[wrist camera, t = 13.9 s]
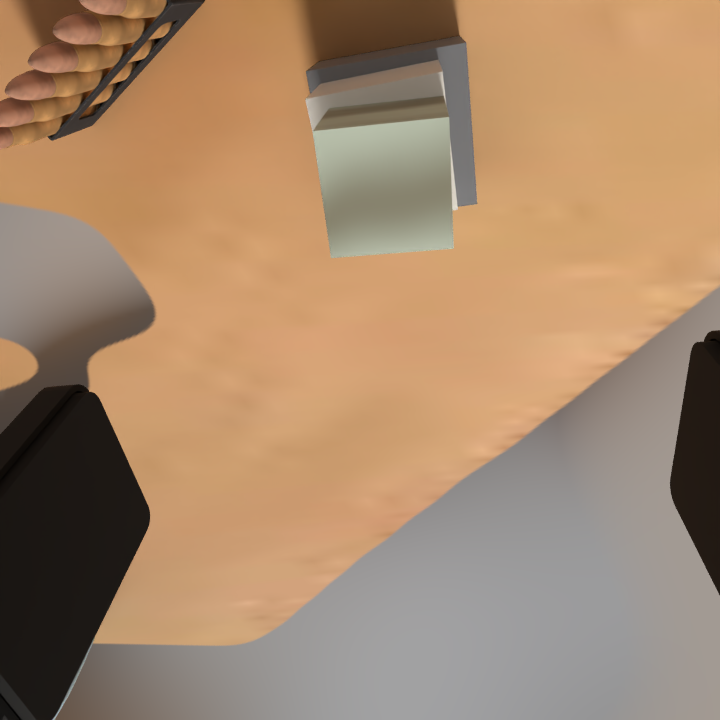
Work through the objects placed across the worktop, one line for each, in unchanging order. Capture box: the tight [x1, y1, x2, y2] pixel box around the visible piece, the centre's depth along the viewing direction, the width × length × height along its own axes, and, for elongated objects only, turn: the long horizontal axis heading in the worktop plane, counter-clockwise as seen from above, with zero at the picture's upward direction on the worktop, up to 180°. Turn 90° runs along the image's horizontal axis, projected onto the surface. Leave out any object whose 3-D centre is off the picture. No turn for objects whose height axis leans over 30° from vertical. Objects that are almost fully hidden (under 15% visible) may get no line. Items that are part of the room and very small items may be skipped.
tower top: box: [305, 60, 458, 210], centre depth 29 cm, size 6×6×5 cm
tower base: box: [306, 36, 477, 207], centre depth 34 cm, size 8×8×5 cm
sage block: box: [313, 96, 454, 258], centre depth 25 cm, size 5×5×5 cm
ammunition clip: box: [0, 0, 205, 149], centre depth 30 cm, size 11×2×12 cm, turn 130°
